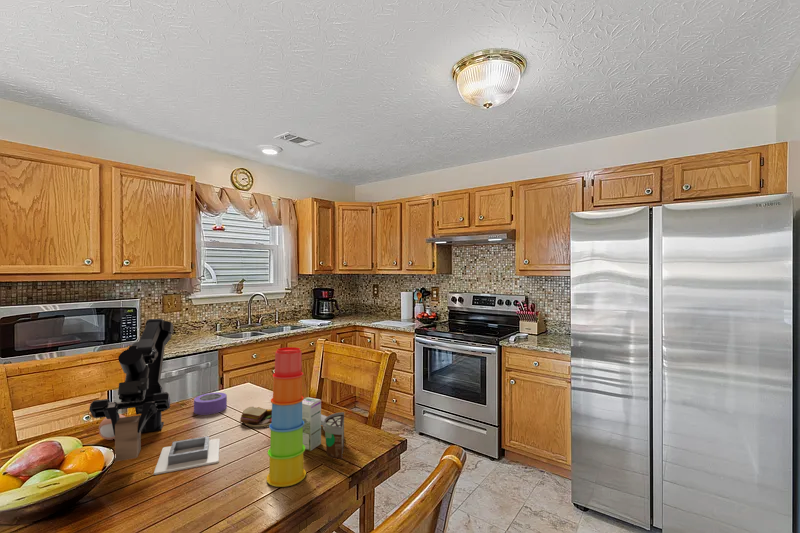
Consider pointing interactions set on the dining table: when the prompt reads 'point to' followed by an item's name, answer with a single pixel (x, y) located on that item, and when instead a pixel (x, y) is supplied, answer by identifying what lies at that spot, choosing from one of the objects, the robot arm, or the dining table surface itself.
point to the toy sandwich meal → (256, 417)
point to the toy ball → (107, 429)
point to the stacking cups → (287, 420)
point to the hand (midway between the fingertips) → (127, 433)
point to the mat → (212, 459)
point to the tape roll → (210, 403)
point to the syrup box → (311, 422)
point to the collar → (190, 455)
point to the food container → (334, 435)
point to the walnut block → (127, 438)
